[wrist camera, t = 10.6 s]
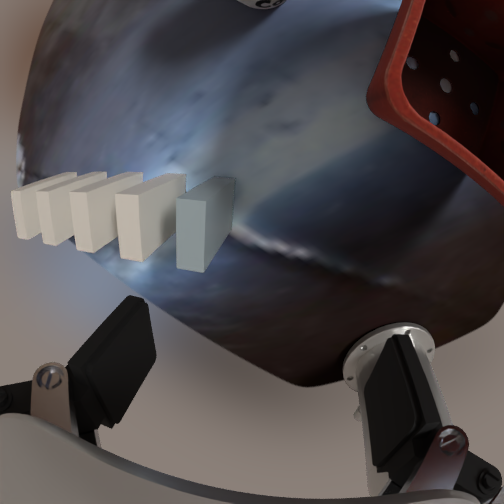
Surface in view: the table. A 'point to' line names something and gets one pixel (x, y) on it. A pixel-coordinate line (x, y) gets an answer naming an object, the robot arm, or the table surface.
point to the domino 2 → (60, 207)
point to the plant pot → (458, 73)
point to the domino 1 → (32, 204)
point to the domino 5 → (203, 222)
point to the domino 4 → (147, 215)
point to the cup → (262, 3)
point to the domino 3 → (98, 210)
